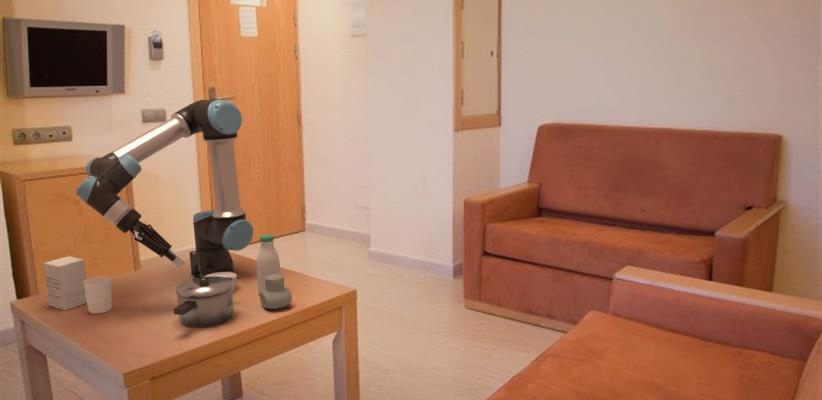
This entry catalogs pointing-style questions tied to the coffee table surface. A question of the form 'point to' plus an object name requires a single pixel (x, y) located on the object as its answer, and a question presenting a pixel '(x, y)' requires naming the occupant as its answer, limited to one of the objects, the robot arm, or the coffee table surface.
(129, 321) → the coffee table surface
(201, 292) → the lid
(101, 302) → the white cup
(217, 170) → the robot arm
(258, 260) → the milk bottle
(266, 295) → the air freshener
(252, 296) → the coffee table surface
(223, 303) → the pot
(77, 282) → the supplement box
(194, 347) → the coffee table surface
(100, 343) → the coffee table surface
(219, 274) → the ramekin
